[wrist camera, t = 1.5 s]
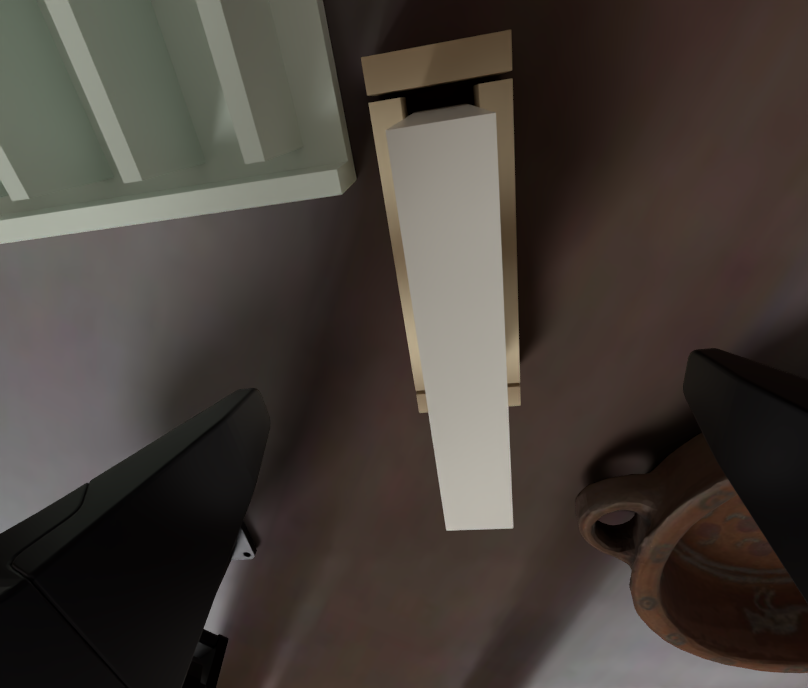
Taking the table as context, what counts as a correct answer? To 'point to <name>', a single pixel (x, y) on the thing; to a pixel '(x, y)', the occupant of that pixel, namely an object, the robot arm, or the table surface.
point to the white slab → (458, 302)
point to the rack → (164, 111)
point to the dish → (700, 563)
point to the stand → (482, 61)
